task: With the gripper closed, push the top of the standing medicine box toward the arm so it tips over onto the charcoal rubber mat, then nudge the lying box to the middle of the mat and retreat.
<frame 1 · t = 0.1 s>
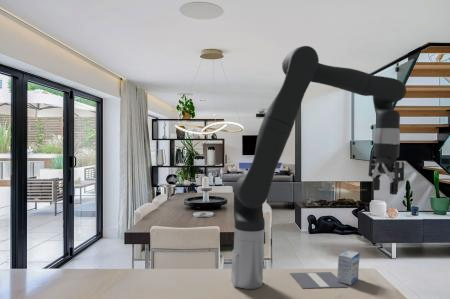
hand: (384, 192, 114), 29 cm above the kitchen island, tool pointing down, fingers open, 8 cm apart
medicine box: (347, 280, 113), on the kitchen island, touching mat
mat: (317, 280, 113), on the kitchen island
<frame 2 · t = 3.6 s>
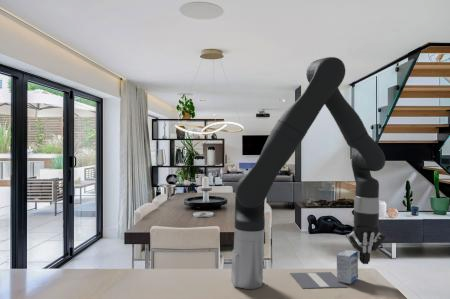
hand: (364, 263, 114), 6 cm above the kitchen island, tool pointing down, fingers closed
medicine box: (347, 280, 113), on the kitchen island, touching gripper, mat
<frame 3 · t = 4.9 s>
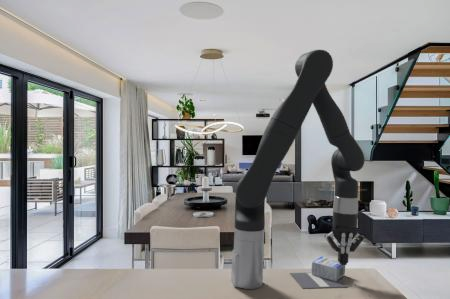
hand: (342, 264, 113), 5 cm above the kitchen island, tool pointing down, fingers closed
medicine box: (341, 272, 114), point 2 cm above the kitchen island, touching mat
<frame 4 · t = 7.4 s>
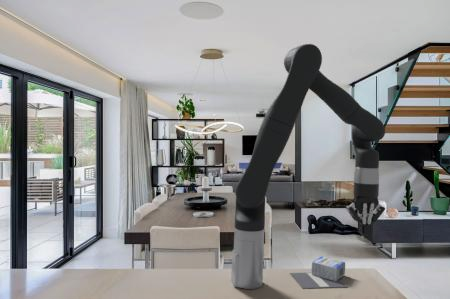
hand: (364, 234, 113), 15 cm above the kitchen island, tool pointing down, fingers closed
nothing on the kitchen island moved.
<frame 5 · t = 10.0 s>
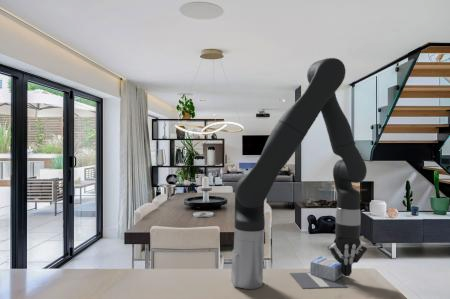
hand: (346, 275, 113), 2 cm above the kitchen island, tool pointing down, fingers closed
medicine box: (340, 271, 114), point 2 cm above the kitchen island, touching gripper, mat
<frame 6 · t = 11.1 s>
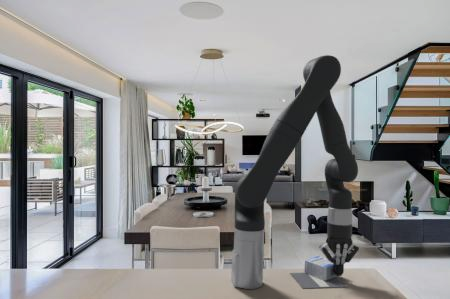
hand: (338, 274, 112), 2 cm above the kitchen island, tool pointing down, fingers closed
medicine box: (333, 272, 114), point 2 cm above the kitchen island, touching gripper, mat
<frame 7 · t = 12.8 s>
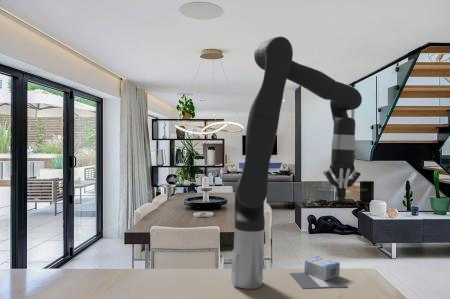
hand: (340, 198, 120), 25 cm above the kitchen island, tool pointing down, fingers closed
medicine box: (333, 272, 114), point 2 cm above the kitchen island, touching mat
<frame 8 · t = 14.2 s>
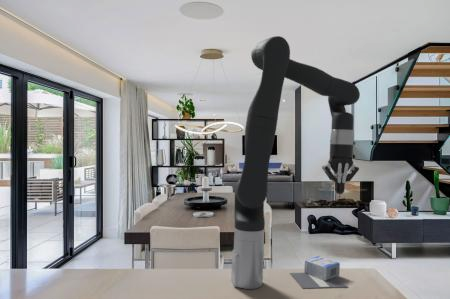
hand: (339, 193, 120), 27 cm above the kitchen island, tool pointing down, fingers closed
nothing on the kitchen island moved.
at the end: medicine box tilted 89°; medicine box inside the target area (4.8 cm from its centre), point 2.3 cm above the kitchen island; the gripper is holding nothing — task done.
